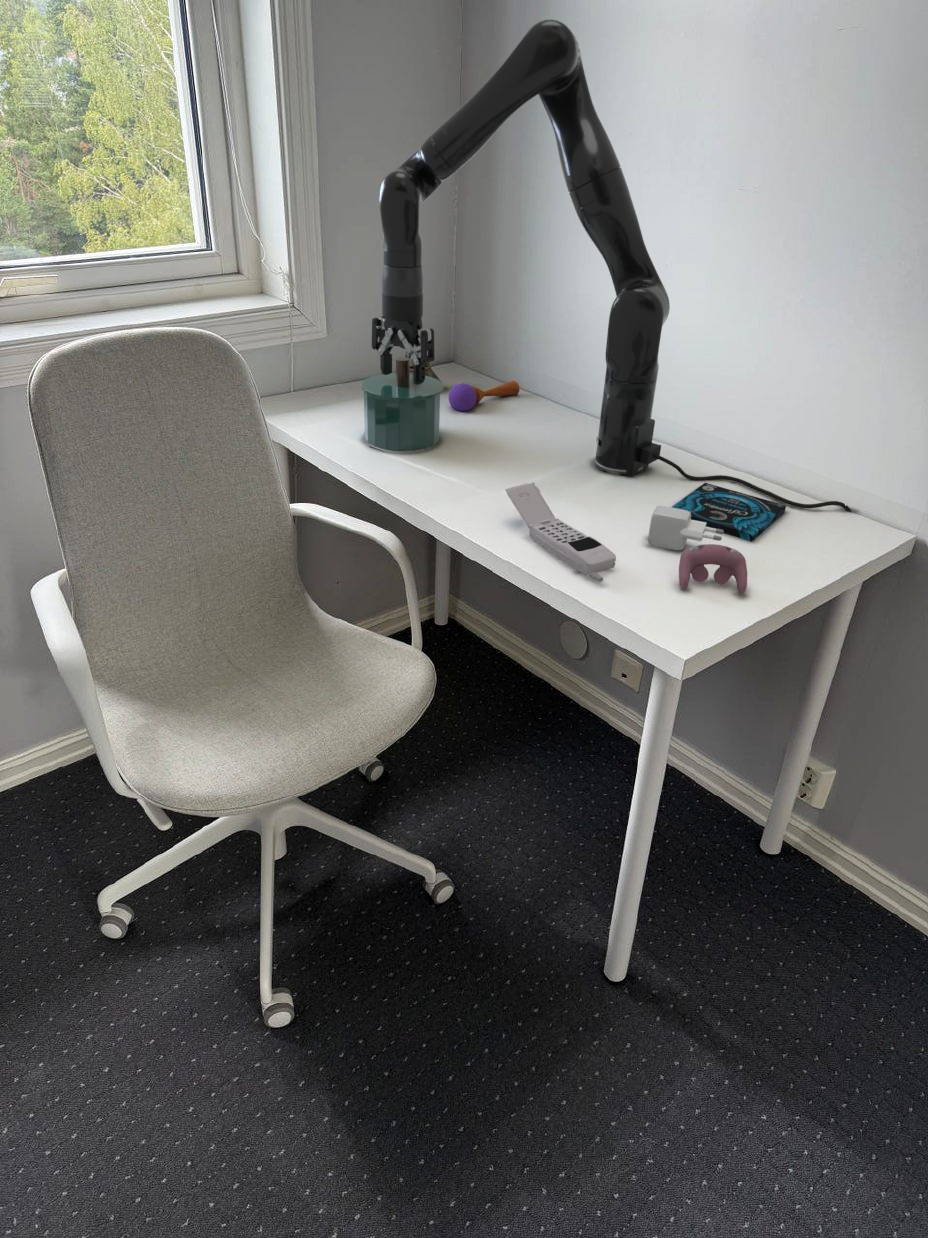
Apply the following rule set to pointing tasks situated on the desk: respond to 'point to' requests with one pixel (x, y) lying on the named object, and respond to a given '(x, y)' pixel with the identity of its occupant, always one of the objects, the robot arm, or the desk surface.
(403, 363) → the lid
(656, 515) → the power adapter
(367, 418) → the pot
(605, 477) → the desk surface
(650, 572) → the desk surface
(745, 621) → the desk surface
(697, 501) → the guitar string package
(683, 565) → the video game controller
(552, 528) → the mobile phone
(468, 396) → the kendama
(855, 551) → the desk surface
